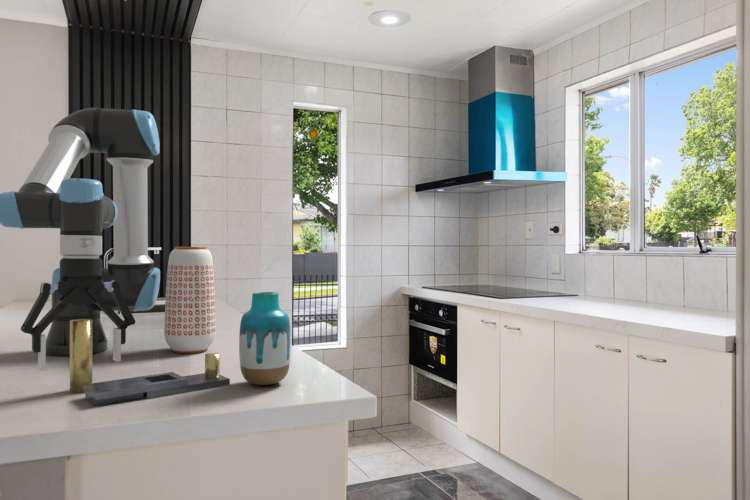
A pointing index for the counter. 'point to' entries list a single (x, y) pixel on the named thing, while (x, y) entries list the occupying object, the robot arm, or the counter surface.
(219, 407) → the counter surface
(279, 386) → the counter surface
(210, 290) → the vase
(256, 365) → the vase
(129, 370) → the counter surface
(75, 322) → the pin
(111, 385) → the grey slide latch
